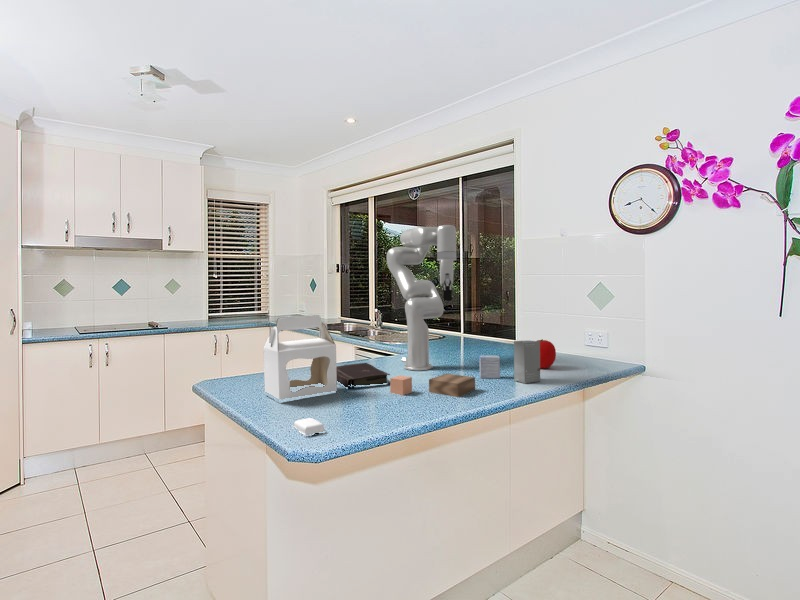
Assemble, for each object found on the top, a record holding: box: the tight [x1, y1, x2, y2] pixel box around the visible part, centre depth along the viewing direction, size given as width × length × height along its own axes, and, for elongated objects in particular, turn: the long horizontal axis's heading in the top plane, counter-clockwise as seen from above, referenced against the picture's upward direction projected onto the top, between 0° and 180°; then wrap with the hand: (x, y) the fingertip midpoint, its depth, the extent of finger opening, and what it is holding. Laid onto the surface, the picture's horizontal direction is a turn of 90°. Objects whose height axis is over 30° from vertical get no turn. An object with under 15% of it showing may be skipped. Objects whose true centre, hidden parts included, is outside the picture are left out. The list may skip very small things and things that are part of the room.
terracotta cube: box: [389, 375, 413, 396], centre depth 172 cm, size 6×6×6 cm
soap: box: [293, 417, 327, 435], centre depth 131 cm, size 9×7×3 cm
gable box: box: [263, 314, 338, 399], centre depth 171 cm, size 22×13×28 cm, turn 126°
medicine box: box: [479, 355, 501, 379], centre depth 195 cm, size 8×4×9 cm, turn 84°
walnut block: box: [428, 373, 476, 398], centre depth 173 cm, size 12×12×5 cm
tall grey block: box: [513, 340, 541, 384], centre depth 187 cm, size 8×7×16 cm
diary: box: [336, 362, 391, 388], centre depth 192 cm, size 19×25×5 cm
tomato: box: [536, 338, 557, 369], centre depth 212 cm, size 11×11×13 cm
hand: (447, 300), depth 190 cm, fingers open, 9 cm apart
